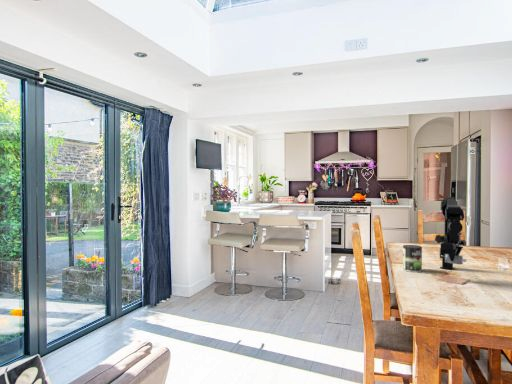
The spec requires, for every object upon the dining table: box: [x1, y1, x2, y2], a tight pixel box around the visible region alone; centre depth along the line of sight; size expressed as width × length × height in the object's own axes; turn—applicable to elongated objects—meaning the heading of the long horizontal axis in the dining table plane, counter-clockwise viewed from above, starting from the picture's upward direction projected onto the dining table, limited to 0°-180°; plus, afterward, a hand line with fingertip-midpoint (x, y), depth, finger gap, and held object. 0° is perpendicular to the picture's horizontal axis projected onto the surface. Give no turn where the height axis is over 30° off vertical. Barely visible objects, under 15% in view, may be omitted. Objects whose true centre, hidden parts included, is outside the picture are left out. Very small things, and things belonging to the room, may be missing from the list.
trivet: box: [436, 274, 471, 285], centre depth 191 cm, size 12×12×1 cm
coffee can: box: [402, 244, 423, 273], centre depth 214 cm, size 10×10×14 cm
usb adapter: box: [445, 254, 467, 265], centre depth 190 cm, size 10×4×4 cm, turn 42°
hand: (453, 260), depth 191 cm, fingers closed on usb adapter, 4 cm apart
